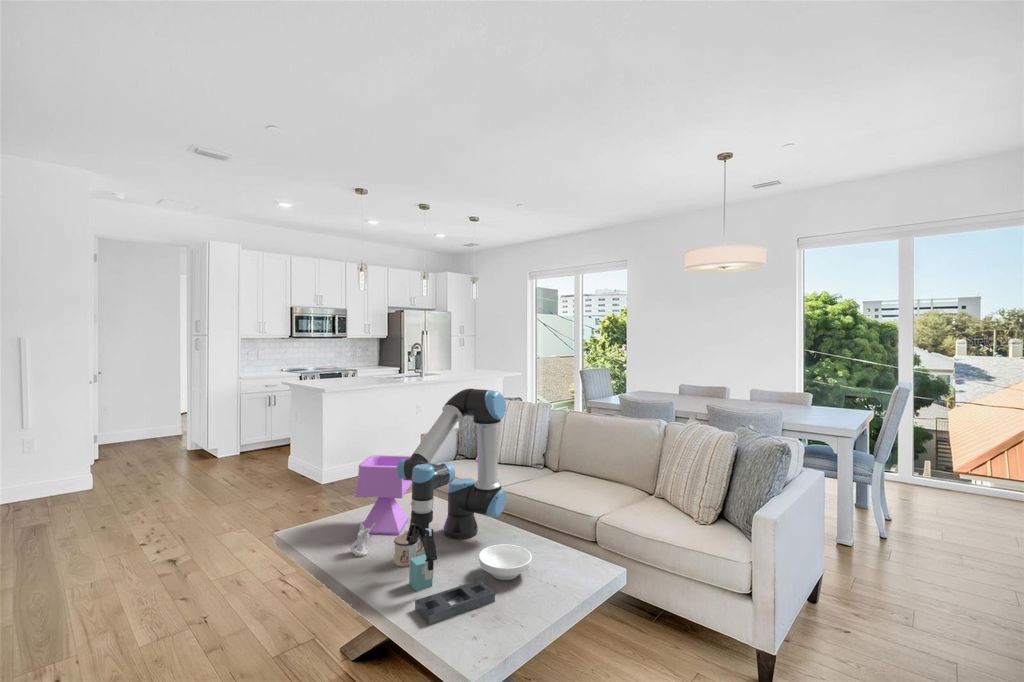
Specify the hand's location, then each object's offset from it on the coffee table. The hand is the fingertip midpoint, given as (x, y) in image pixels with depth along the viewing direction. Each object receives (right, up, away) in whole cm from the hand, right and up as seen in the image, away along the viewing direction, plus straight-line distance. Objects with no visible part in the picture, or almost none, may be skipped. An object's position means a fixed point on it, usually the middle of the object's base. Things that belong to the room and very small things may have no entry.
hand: (420, 570), depth 170 cm
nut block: (0, -5, 0) cm, 5 cm away
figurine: (-27, -5, +25) cm, 37 cm away
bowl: (+29, -6, +9) cm, 31 cm away
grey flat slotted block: (+14, -6, -12) cm, 19 cm away
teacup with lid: (-8, -5, +18) cm, 20 cm away
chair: (-26, -4, +51) cm, 57 cm away
